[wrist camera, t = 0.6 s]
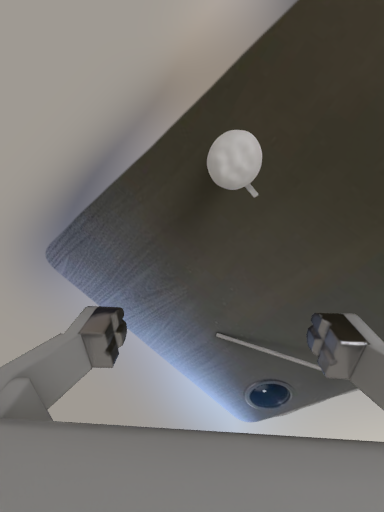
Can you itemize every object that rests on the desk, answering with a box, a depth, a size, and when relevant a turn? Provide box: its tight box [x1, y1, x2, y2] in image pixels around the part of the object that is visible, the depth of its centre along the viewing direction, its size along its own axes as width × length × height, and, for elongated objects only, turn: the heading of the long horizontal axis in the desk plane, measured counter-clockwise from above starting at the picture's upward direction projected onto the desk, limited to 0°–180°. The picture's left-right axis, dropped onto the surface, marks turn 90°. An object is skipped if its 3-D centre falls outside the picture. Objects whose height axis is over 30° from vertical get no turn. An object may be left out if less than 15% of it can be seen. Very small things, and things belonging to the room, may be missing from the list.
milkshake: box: [207, 130, 262, 198], centre depth 20 cm, size 5×5×10 cm
